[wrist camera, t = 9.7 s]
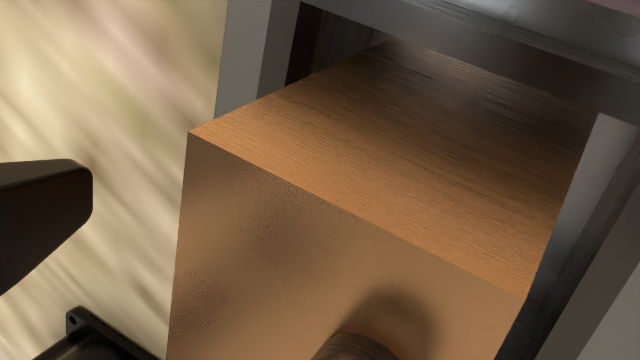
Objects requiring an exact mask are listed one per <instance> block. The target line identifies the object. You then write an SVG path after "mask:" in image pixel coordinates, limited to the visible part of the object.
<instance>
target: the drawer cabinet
mask: <svg viewBox="0 0 640 360" xmlns="http://www.w3.org/2000/svg"><path fill="white" fill-rule="evenodd" d="M395 36H396V37H398V38H401V39H404V40H406V41H409V42H412V43H414V44H417V45H420V46H423V47H425V48H428V49H431V50H433V51H436V52H439V53H441V54H444V55H447V56H449V57H452V58H455V59H457V60H460V61H463V62H465V63H468V64H471V65H473V66H476V67H479V68H481V69H484V70H487V71H489V72H492V73H495V74H497V75H500V76H503V77H506V78H508V79H511V80H514V81H516V82H519V83H522V84H524V85H527V86H530V87H532V88H535V89H538V90H540V91H543V92H546V93H548V94H551V95H554V96H556V97H559V98H562V99H564V100H567V101H570V102H572V103H575V104H578V105H581V106H583V107H586V108H589V109H591V110H594V111H597V112H599V114H598V116H597V119H596V121H595V124H594V126H593V129H592V131H591V134H590V137H589V139H588V142H587V144H586V147H585V149H584V152H583V154H582V157H581V160H580V162H579V165H578V167H577V170H576V172H575V175H574V177H573V180H572V183H571V185H570V188H569V190H568V193H567V195H566V198H565V200H564V203H563V205H562V208H561V211H560V213H559V216H558V218H557V221H556V223H555V226H554V228H553V231H552V234H551V236H550V239H549V241H548V244H547V246H546V249H545V251H544V254H543V257H542V259H541V262H540V264H539V267H538V269H537V272H536V274H535V277H534V280H533V282H532V285H531V287H530V290H529V292H528V295H527V297H526V300H525V302H524V304H523V306H522V307H521V309H520V311H519V313H518V315H517V317H516V319H515V321H514V322H513V324H512V326H511V328H510V330H509V332H508V334H507V335H506V337H505V339H504V341H503V343H502V345H501V347H500V349H499V350H498V352H497V354H496V356H495V358H494V360H640V0H228V7H227V15H226V24H225V32H224V40H223V48H222V56H221V64H220V73H219V81H218V89H217V97H216V105H215V114H214V119H216V118H218V117H221V116H223V115H225V114H227V113H229V112H231V111H234V110H236V109H238V108H240V107H242V106H245V105H247V104H249V103H251V102H253V101H255V100H258V99H260V98H262V97H264V96H266V95H269V94H271V93H273V92H275V91H277V90H279V89H282V88H284V87H286V86H288V85H290V84H293V83H295V82H297V81H299V80H301V79H304V78H306V77H308V76H310V75H312V74H314V73H317V72H319V71H321V70H323V69H325V68H328V67H330V66H332V65H334V64H336V63H338V62H341V61H343V60H345V59H347V58H349V57H352V56H354V55H356V54H358V53H360V52H362V51H365V50H367V49H369V48H371V47H373V46H376V45H378V44H380V43H382V42H384V41H387V40H389V39H391V38H393V37H395Z"/></svg>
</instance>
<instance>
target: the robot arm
mask: <svg viewBox="0 0 640 360" xmlns="http://www.w3.org/2000/svg"><path fill="white" fill-rule="evenodd" d="M92 211H93V176H92V173H91V171H90V170H89V169H88V168H87V167H85V166H84V165H82V164H80V163H78V162H77V161H75V160H72V159H52V160H37V161H22V162H6V163H0V296H1V295H3V294H4V293H5V292H7V291H8V290H9V289H11V288H12V287H13V286H14V285H16V284H17V283H18V282H19V281H21V280H22V279H23V278H24V277H25V276H27V275H28V274H29V273H30V272H31V271H32V270H33V269H35V268H36V267H37V266H38V265H39V264H40V263H41V262H42V261H43V260H45V259H46V258H47V257H48V256H49V255H50V254H51V253H52V252H54V251H55V250H56V249H57V248H58V247H59V246H60V245H61V244H63V243H64V242H65V241H66V240H67V239H68V238H69V237H70V236H72V235H73V234H74V233H75V232H76V231H77V230H78V229H79V228H81V227H82V226H83V225H84V224H85V223H86V222H87V221H88V219H89V218H90V216H91V214H92ZM32 360H154V359H152V358H151V357H149V356H148V355H146V354H145V353H143V352H142V351H141V350H139V349H138V348H136V347H135V346H133V345H132V344H130V343H129V342H127V341H126V340H125V339H123V338H122V337H120V336H119V335H117V334H116V333H114V332H113V331H111V330H110V329H109V328H107V327H106V326H104V325H103V324H101V323H100V322H98V321H97V320H95V319H94V318H93V317H91V316H90V315H88V314H87V313H85V312H84V311H82V310H81V309H79V308H77V307H74V308H72V309H71V310H69V311H68V312H67V313H66V336H65V337H64V338H62V339H61V340H59V341H58V342H56V343H55V344H54V345H52V346H51V347H49V348H48V349H46V350H45V351H44V352H42V353H41V354H39V355H38V356H36V357H35V358H34V359H32Z"/></svg>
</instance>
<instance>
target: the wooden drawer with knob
mask: <svg viewBox="0 0 640 360" xmlns="http://www.w3.org/2000/svg"><path fill="white" fill-rule="evenodd" d="M598 114H599V112H597V111H594V110H591V109H589V108H586V107H583V106H581V105H578V104H575V103H572V102H570V101H567V100H564V99H562V98H559V97H556V96H554V95H551V94H548V93H546V92H543V91H540V90H538V89H535V88H532V87H530V86H527V85H524V84H522V83H519V82H516V81H514V80H511V79H508V78H506V77H503V76H500V75H497V74H495V73H492V72H489V71H487V70H484V69H481V68H479V67H476V66H473V65H471V64H468V63H465V62H463V61H460V60H457V59H455V58H452V57H449V56H447V55H444V54H441V53H439V52H436V51H433V50H431V49H428V48H425V47H423V46H420V45H417V44H414V43H412V42H409V41H406V40H404V39H401V38H398V37H396V36H395V37H393V38H391V39H389V40H387V41H384V42H382V43H380V44H378V45H376V46H373V47H371V48H369V49H367V50H365V51H362V52H360V53H358V54H356V55H354V56H352V57H349V58H347V59H345V60H343V61H341V62H338V63H336V64H334V65H332V66H330V67H328V68H325V69H323V70H321V71H319V72H317V73H314V74H312V75H310V76H308V77H306V78H304V79H301V80H299V81H297V82H295V83H293V84H290V85H288V86H286V87H284V88H282V89H279V90H277V91H275V92H273V93H271V94H269V95H266V96H264V97H262V98H260V99H258V100H255V101H253V102H251V103H249V104H247V105H245V106H242V107H240V108H238V109H236V110H234V111H231V112H229V113H227V114H225V115H223V116H221V117H218V118H216V119H214V120H212V121H210V122H207V123H205V124H203V125H201V126H199V127H197V128H194V129H192V130H190V131H188V137H187V148H186V158H185V168H184V179H183V189H182V199H181V210H180V220H179V230H178V241H177V251H176V261H175V272H174V282H173V292H172V303H171V313H170V323H169V334H168V344H167V354H166V360H494V358H495V356H496V354H497V352H498V350H499V349H500V347H501V345H502V343H503V341H504V339H505V337H506V335H507V334H508V332H509V330H510V328H511V326H512V324H513V322H514V321H515V319H516V317H517V315H518V313H519V311H520V309H521V307H522V306H523V304H524V302H525V300H526V297H527V295H528V292H529V290H530V287H531V285H532V282H533V280H534V277H535V274H536V272H537V269H538V267H539V264H540V262H541V259H542V257H543V254H544V251H545V249H546V246H547V244H548V241H549V239H550V236H551V234H552V231H553V228H554V226H555V223H556V221H557V218H558V216H559V213H560V211H561V208H562V205H563V203H564V200H565V198H566V195H567V193H568V190H569V188H570V185H571V183H572V180H573V177H574V175H575V172H576V170H577V167H578V165H579V162H580V160H581V157H582V154H583V152H584V149H585V147H586V144H587V142H588V139H589V137H590V134H591V131H592V129H593V126H594V124H595V121H596V119H597V116H598Z"/></svg>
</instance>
